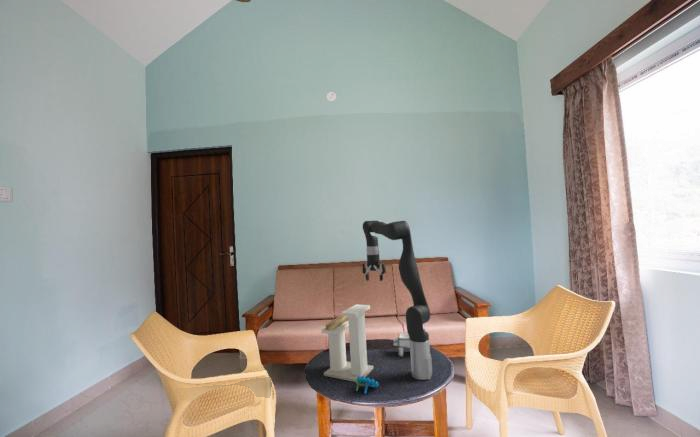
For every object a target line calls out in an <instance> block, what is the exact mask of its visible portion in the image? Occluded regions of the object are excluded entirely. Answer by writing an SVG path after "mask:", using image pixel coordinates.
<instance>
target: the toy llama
mask: <svg viewBox="0 0 700 437" xmlns="http://www.w3.org/2000/svg"><path fill="white" fill-rule="evenodd" d="M423 330H424V331H426V329H425V324H423ZM393 346H396V347H397V350H398V353H397V354H398V358H403V357H404V350H405V349H407V348H408V349H410V340H409V334H408V333H397V339H393Z"/></svg>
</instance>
